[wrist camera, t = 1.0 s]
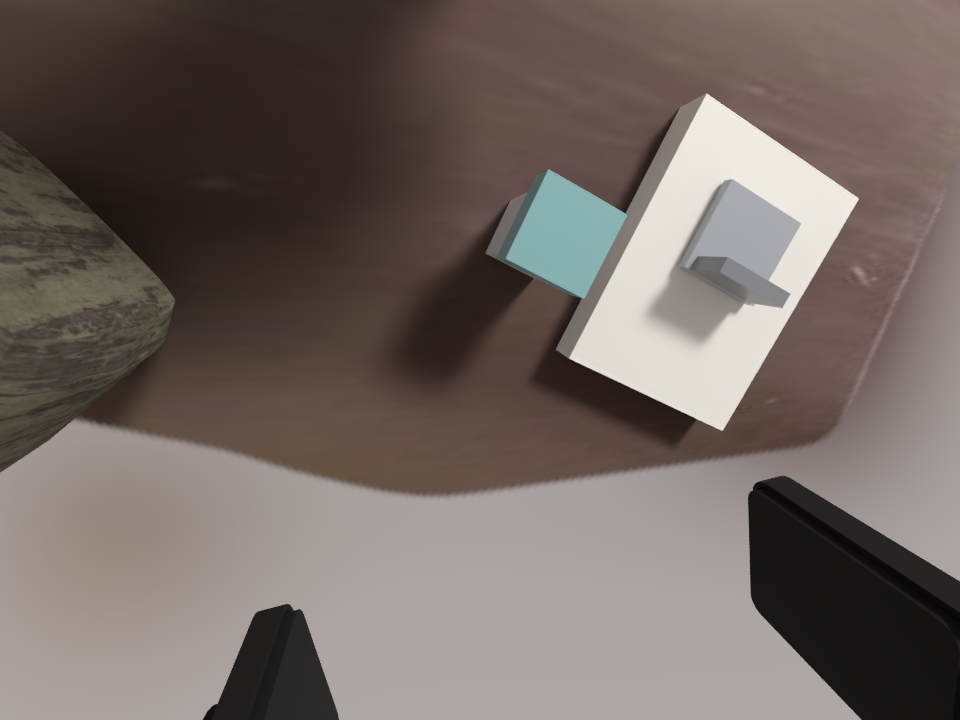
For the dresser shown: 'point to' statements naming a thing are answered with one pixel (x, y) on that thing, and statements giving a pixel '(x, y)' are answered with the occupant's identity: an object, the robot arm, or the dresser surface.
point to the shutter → (741, 246)
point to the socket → (684, 297)
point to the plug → (557, 234)
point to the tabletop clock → (64, 305)
